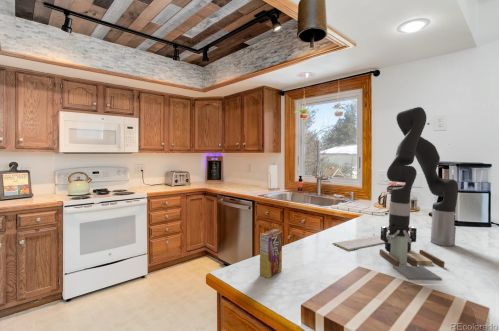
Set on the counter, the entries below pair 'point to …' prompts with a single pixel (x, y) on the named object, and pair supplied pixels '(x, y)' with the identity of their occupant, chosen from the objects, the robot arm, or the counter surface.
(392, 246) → the pale green block
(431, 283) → the counter surface
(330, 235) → the counter surface
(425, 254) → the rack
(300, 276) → the counter surface
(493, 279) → the counter surface
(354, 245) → the baseboard molding
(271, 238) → the candy box
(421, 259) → the upper offcut
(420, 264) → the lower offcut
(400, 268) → the rubber mat
